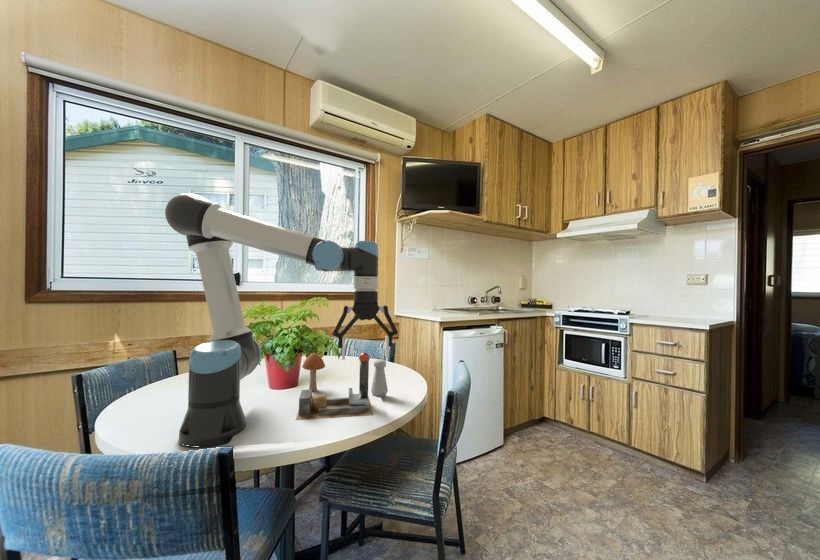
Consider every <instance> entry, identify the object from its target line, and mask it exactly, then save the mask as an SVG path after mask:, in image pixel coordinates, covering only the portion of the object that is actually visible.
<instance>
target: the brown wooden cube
mask: <svg viewBox="0 0 820 560" xmlns="http://www.w3.org/2000/svg"><path fill="white" fill-rule="evenodd" d="M327 396H328V395H327V394H324V393H318V394H313V395H312V411H313V412H318V409H319V408H326V406H327V399H328V398H327Z"/></svg>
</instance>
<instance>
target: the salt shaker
mask: <svg viewBox="0 0 820 560" xmlns="http://www.w3.org/2000/svg"><path fill="white" fill-rule="evenodd" d="M373 366H374V373H373V378H372V383H371V388H370V389H371V390H370V392H371V394H372V395H373V396H375V397H380V399H382V398H383V399H385V398H386V396H387V394H388V392H389V389H388V384H387V377H386V372H385V371H386V370H385V368H386V367H387V361H386V360H384V359H376V360H374V362H373Z"/></svg>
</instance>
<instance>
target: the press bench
mask: <svg viewBox="0 0 820 560" xmlns="http://www.w3.org/2000/svg"><path fill="white" fill-rule="evenodd" d="M312 394H313V392H312V390H309V389H302V390H301V392H300V395H299V398H298V411H297V414H296V418H295V421H303V420H319V419H334V418H335V419H337V418H349V417H362V416H363V417H365V416H367V417H369V416H374V415H375V414H374V411H373V408H372V404H371V400H370V399H369V409H366V406H351V407H349V397H339V398H327V406H326V408H319V409H318V412H313V411H312V396H313V395H312Z"/></svg>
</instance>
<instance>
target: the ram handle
mask: <svg viewBox="0 0 820 560" xmlns="http://www.w3.org/2000/svg"><path fill="white" fill-rule="evenodd" d="M370 359H371V356H370V354H369V353H368V352H365V351H364V352H361V353H360V354H359V355H358V360H359V380H358V381H359V383H358V384H359V387H358V388H359V389H358V393H354V392H353V387H349V388H348V398H349V407H351V406H366V409H369V400H370V397H369V378H370V377H369V374H370V372H369V370H370V369H369V368H370V367H369V365H370Z"/></svg>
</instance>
